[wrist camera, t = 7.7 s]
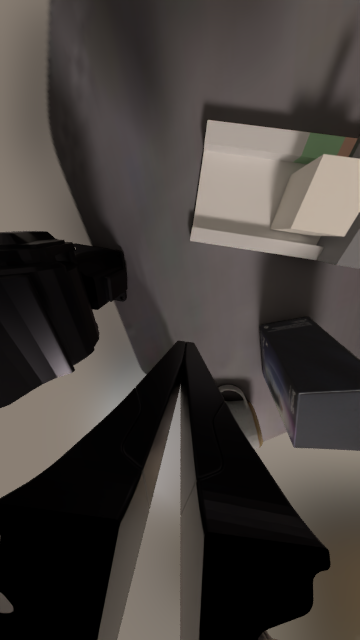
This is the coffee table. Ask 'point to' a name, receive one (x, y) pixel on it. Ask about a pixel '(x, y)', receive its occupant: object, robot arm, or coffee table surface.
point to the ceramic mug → (245, 417)
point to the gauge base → (263, 191)
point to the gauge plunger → (322, 196)
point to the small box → (312, 384)
